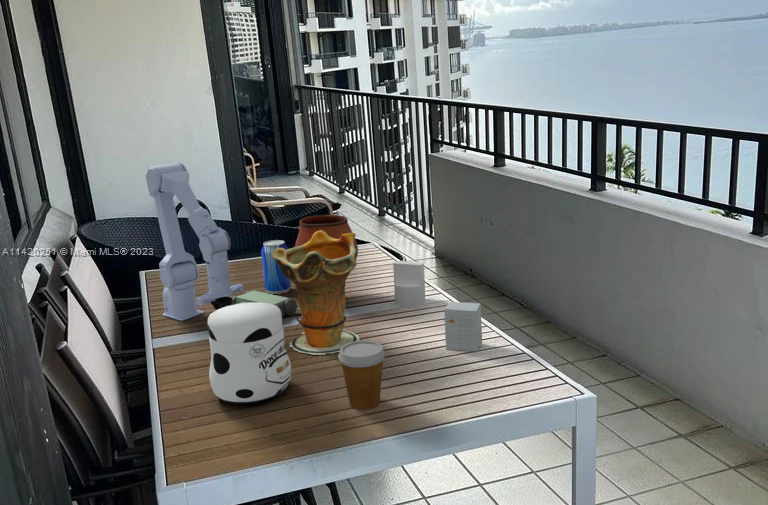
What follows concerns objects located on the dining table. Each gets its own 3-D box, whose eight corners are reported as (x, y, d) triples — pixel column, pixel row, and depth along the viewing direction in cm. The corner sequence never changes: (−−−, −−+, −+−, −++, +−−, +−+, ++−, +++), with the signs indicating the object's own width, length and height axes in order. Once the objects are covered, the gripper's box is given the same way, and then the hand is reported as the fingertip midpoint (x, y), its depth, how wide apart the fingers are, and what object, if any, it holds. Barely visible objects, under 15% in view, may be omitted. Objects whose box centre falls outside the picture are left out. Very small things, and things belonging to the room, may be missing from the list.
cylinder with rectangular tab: (390, 305, 199) (388, 266, 196) (401, 296, 207) (399, 257, 204) (419, 308, 196) (418, 267, 193) (429, 298, 204) (428, 259, 201)
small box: (482, 343, 168) (481, 303, 166) (477, 352, 163) (477, 310, 161) (450, 341, 171) (449, 301, 168) (445, 349, 166) (443, 308, 163)
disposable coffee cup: (341, 394, 145) (337, 341, 142) (385, 390, 146) (382, 338, 143) (342, 415, 136) (338, 359, 133) (389, 411, 137) (386, 356, 134)
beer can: (286, 295, 214) (282, 245, 210) (261, 295, 215) (256, 245, 211) (295, 287, 222) (291, 239, 217) (270, 287, 223) (266, 239, 219)
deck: (217, 316, 198) (215, 302, 196) (254, 302, 208) (253, 288, 207) (260, 328, 187) (259, 312, 185) (297, 312, 197) (296, 297, 196)
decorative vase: (264, 355, 167) (256, 242, 161) (306, 326, 188) (301, 226, 182) (342, 363, 160) (337, 246, 154) (377, 333, 181) (374, 228, 175)
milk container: (299, 402, 143) (291, 321, 138) (214, 417, 138) (203, 333, 134) (286, 370, 159) (279, 296, 154) (210, 382, 154) (200, 307, 150)
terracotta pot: (338, 313, 195) (332, 227, 189) (284, 305, 205) (277, 223, 198) (372, 293, 211) (368, 214, 205) (321, 286, 221) (315, 210, 214)
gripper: (206, 285, 177) (212, 334, 180) (248, 271, 188) (253, 317, 191) (189, 281, 181) (195, 329, 184) (231, 267, 192) (236, 313, 195)
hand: (223, 323), depth 188 cm, fingers closed
